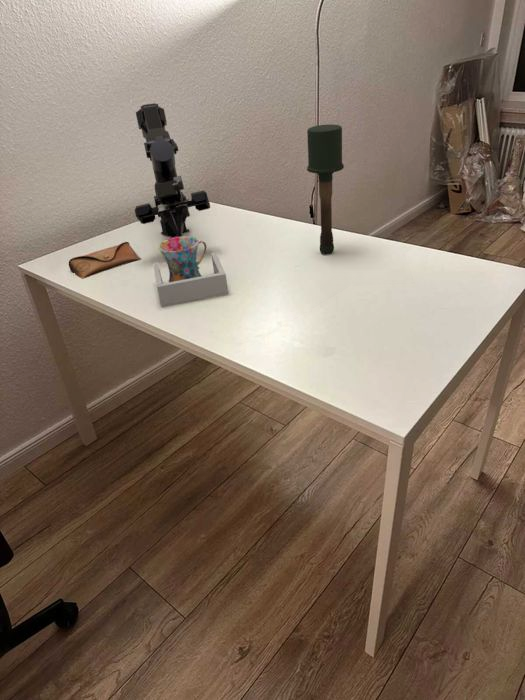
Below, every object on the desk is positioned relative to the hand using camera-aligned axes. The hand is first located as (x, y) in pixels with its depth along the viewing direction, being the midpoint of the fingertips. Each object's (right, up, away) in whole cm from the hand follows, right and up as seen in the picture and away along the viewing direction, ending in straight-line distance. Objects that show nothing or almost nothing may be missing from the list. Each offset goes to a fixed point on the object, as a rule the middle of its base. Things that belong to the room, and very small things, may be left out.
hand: (179, 238), depth 125 cm
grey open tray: (+4, -14, -8) cm, 16 cm away
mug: (+4, -13, -6) cm, 14 cm away
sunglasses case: (-21, -6, +9) cm, 24 cm away
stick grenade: (+38, -3, +2) cm, 38 cm away
